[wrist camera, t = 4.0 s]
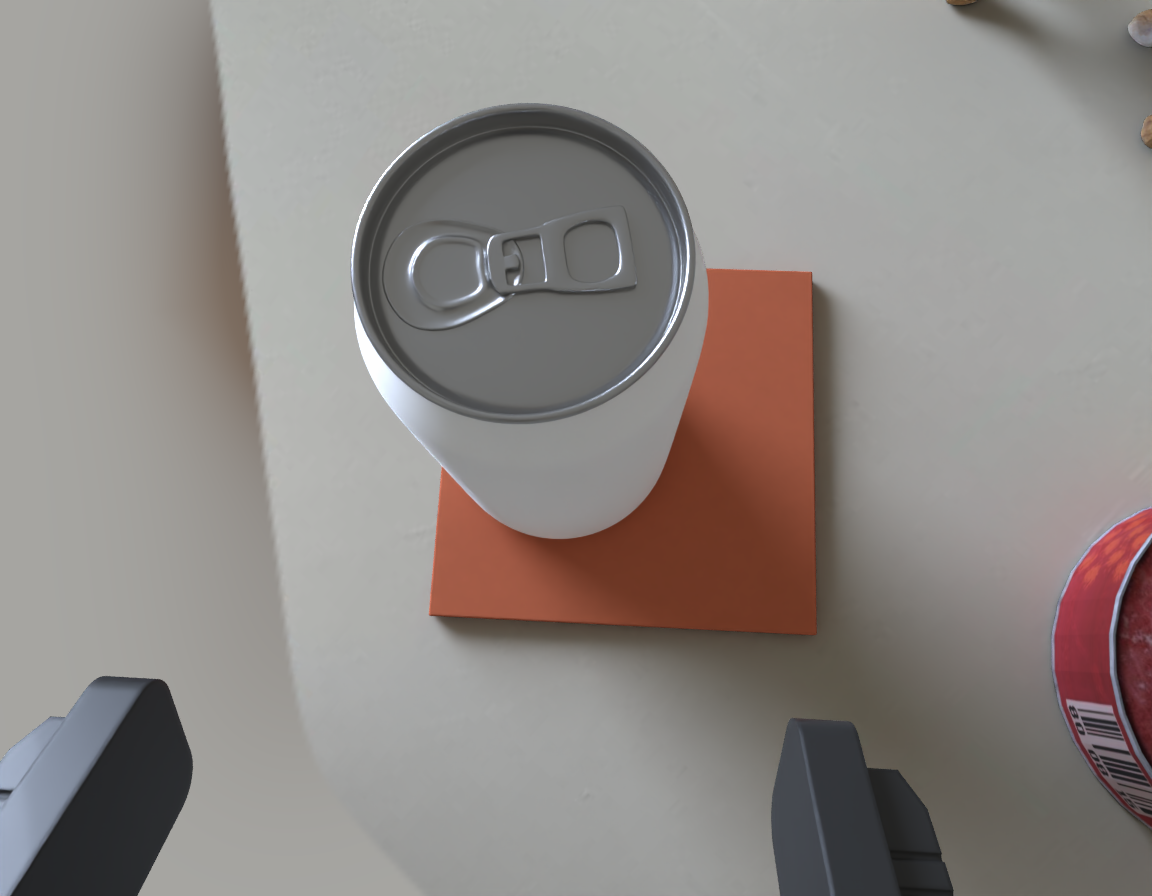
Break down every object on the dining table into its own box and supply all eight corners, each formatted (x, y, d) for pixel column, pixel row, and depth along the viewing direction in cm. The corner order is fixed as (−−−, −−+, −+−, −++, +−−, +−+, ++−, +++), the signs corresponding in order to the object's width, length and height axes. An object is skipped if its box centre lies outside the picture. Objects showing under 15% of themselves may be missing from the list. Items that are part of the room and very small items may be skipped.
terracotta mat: (431, 615, 25) (428, 615, 24) (461, 265, 27) (459, 260, 27) (813, 635, 24) (817, 635, 24) (809, 276, 27) (812, 271, 26)
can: (442, 347, 26) (310, 107, 14) (651, 318, 26) (687, 54, 14) (464, 556, 25) (337, 477, 13) (686, 525, 25) (757, 418, 13)
